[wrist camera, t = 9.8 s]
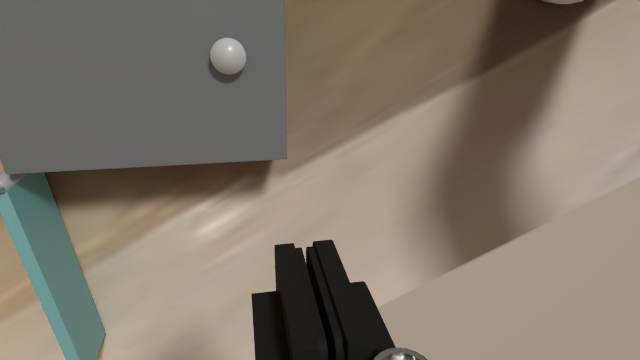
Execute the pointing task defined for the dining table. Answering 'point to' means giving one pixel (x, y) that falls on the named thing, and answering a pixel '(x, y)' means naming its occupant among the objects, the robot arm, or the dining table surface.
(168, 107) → the camera body
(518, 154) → the dining table surface
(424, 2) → the dining table surface
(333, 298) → the robot arm
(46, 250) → the side door
